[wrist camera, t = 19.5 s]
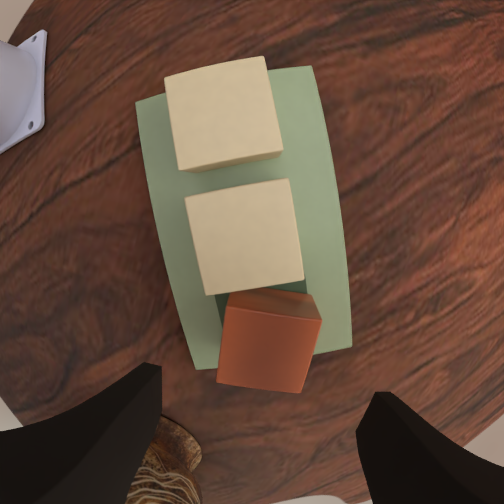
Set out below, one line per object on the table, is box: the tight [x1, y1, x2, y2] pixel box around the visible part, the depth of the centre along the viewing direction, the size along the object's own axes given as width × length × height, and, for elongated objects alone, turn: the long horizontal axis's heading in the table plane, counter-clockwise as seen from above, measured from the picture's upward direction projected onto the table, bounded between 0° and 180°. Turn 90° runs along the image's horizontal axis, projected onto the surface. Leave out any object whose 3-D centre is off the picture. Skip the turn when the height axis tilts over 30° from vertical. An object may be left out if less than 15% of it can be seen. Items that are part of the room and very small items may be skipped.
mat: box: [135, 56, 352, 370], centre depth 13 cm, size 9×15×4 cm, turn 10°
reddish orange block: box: [216, 287, 322, 393], centre depth 14 cm, size 4×4×3 cm
